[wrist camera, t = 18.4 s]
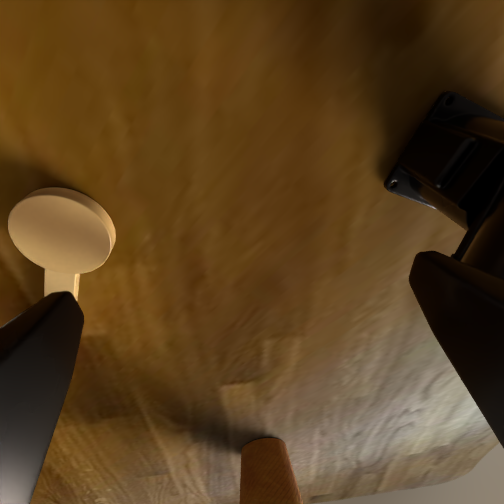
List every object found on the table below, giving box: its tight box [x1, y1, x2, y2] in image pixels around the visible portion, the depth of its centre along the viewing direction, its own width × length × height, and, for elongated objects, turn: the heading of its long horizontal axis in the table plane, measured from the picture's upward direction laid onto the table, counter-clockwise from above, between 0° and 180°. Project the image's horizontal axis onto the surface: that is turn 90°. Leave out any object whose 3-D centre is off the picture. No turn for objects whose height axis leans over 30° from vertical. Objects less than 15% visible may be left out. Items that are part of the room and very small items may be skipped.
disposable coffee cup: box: [240, 438, 303, 504], centre depth 38 cm, size 10×10×12 cm
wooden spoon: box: [8, 187, 116, 301], centre depth 23 cm, size 20×6×1 cm, turn 159°
